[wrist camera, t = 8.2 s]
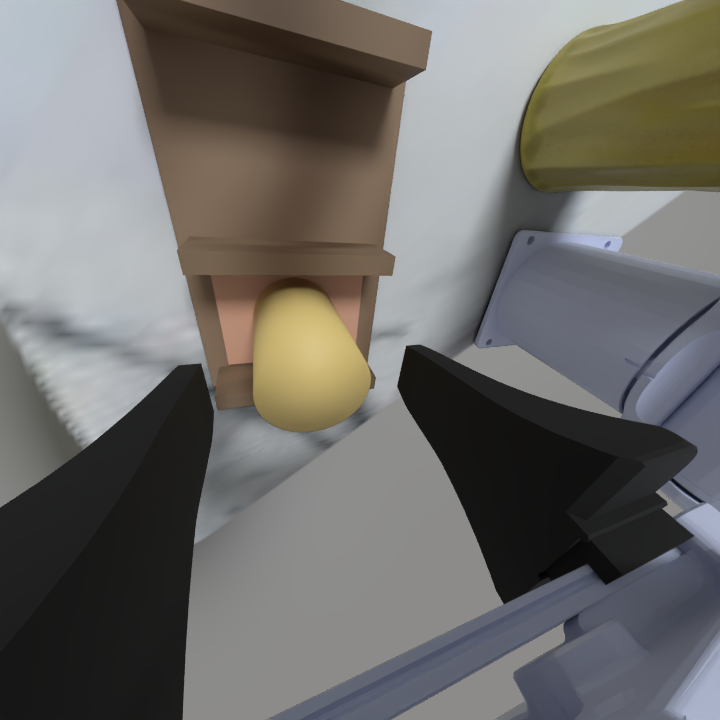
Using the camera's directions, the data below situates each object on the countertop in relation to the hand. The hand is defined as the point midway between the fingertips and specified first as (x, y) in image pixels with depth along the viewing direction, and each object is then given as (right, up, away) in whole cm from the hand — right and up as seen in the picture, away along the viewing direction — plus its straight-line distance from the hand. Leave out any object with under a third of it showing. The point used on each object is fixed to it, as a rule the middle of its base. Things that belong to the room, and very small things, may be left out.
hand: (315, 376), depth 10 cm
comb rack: (-2, +6, +3) cm, 7 cm away
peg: (-2, +3, +4) cm, 5 cm away
